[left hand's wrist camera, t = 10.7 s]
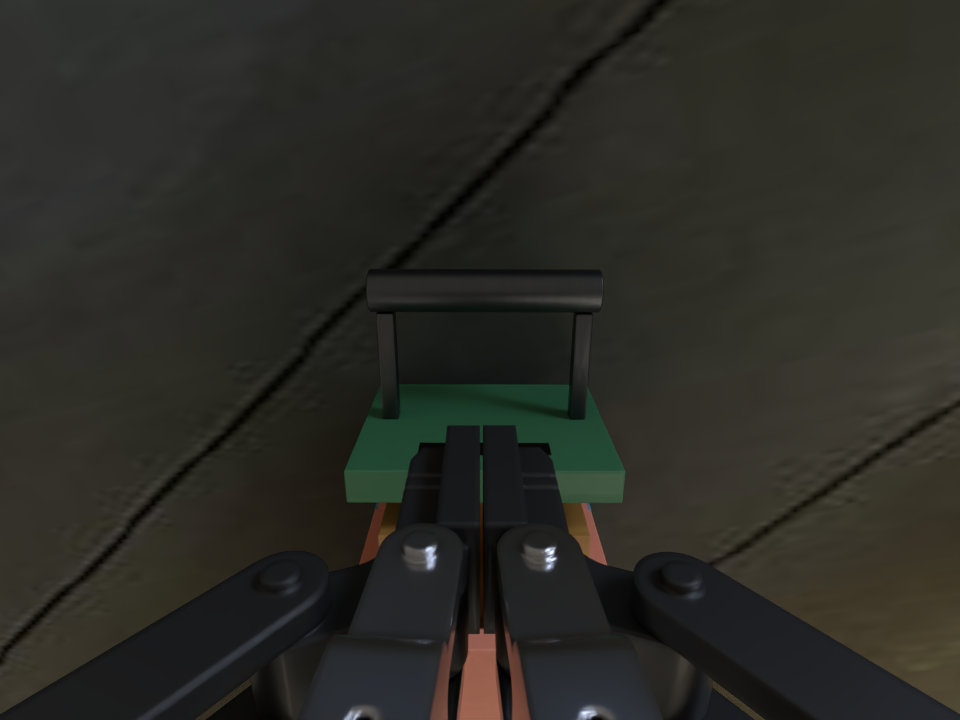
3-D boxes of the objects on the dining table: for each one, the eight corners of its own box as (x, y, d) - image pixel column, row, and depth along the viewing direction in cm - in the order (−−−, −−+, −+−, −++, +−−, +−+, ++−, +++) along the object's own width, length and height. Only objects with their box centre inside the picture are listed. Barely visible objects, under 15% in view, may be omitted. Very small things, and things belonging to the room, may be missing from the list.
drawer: (371, 253, 22) (326, 297, 16) (597, 253, 22) (645, 298, 16) (394, 610, 29) (369, 747, 22) (570, 610, 29) (596, 747, 22)
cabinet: (378, 495, 27) (333, 649, 19) (587, 496, 27) (633, 650, 19) (392, 701, 32) (362, 895, 24) (570, 701, 32) (602, 896, 24)
